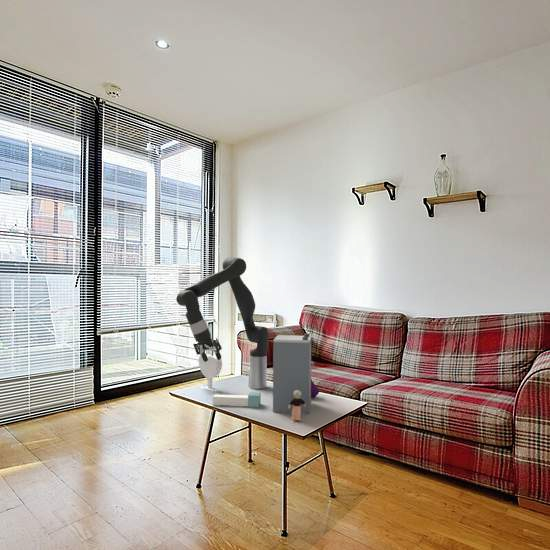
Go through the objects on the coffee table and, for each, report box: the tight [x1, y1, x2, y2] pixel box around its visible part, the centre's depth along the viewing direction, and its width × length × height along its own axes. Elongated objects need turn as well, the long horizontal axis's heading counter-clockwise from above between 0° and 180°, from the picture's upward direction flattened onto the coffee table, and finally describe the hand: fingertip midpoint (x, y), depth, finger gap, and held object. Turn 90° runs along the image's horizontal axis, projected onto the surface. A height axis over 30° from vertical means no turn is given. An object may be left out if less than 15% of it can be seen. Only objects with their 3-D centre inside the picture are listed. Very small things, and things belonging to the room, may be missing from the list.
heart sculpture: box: [198, 354, 223, 392], centre depth 219 cm, size 16×5×18 cm, turn 48°
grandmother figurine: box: [288, 390, 306, 422], centre depth 170 cm, size 8×4×13 cm, turn 114°
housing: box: [272, 333, 312, 414], centre depth 188 cm, size 16×16×33 cm
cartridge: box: [212, 391, 262, 409], centre depth 191 cm, size 22×6×6 cm, turn 84°
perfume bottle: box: [311, 360, 321, 400], centre depth 204 cm, size 8×8×18 cm
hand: (213, 360), depth 195 cm, fingers open, 8 cm apart
